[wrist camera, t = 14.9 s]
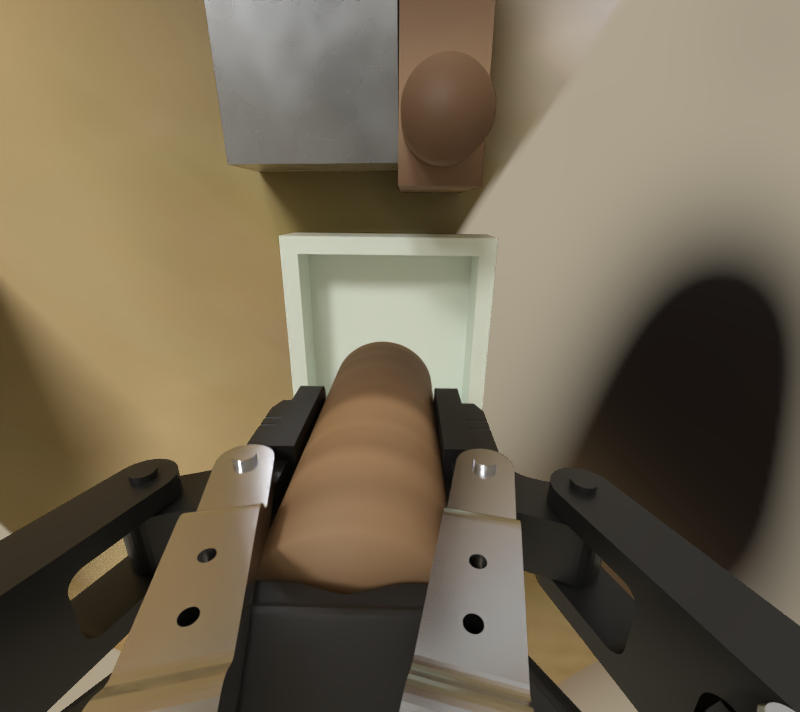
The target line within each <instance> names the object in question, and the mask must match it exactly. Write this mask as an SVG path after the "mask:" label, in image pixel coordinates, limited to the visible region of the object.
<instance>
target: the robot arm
mask: <svg viewBox="0 0 800 712" xmlns="http://www.w3.org/2000/svg"><path fill="white" fill-rule="evenodd" d="M325 400H326V391H325V387H324V386H300V387H299V389H298V391H297V392H296V394H295V396H294V397H293V399H292V400H283V401H281V402H280V403H278V404H277V405H275V406H274V407H272V408H271V410H270V411H269V413H268V414H267V416H266V418H265V419H264V420H263V421H262V423H261V426H259V427H258V429H257V430H256V432H255V433H254V435H253V436H252V437H251V439H250V440H249V442H248V443H247V445H243V446H239V447H236V448H233V449H231V450H229V451H227V452H225V453H223V454H222V455H221V456H220V457H219V458H218V459H217V460H216V462H215V464H214V466H213V469H212V470H210V471H205V472H200V473H194V474H188V475H183V476H180V474H179V470H178V465H177V464H176V463H175V462H174V461H171V460H167V459H153V460H147V461H143V462H140V463H137V464H134V465H132V466H129V467H127V468H125V469H123V470H122V471H120V472H118V473H116V474H115V475H113V476H111V477H110V478H108V479H106V480H104V481H103V482H101V483H99V484H97V485H96V486H94V487H92V488H90V489H89V490H87V491H85V492H84V493H82V494H80V495H78V496H77V497H75V498H73V499H71V500H70V501H68V502H66V503H64V504H63V505H61V506H59V507H58V508H56V509H54V510H52V511H51V512H49V513H47V514H45V515H44V516H42V517H40V518H39V519H37V520H35V521H33V522H32V523H30V524H28V525H26V526H25V527H23V528H21V529H19V530H18V531H16V532H14V533H13V534H11V535H9V536H7V537H6V538H4V539H2V540H0V712H47V711H48V710H49V709H50V708H51V707H52V706H53V705H54V704H55V703H56V702H57V701H58V700H59V699H60V698H61V697H62V696H63V695H64V694H66V693H67V692H68V690H70V689H71V688H72V687H73V686H74V685H75V684H76V683H77V682H78V681H79V680H80V679H81V678H82V677H83V676H84V675H85V674H86V673H88V671H89V670H91V669H92V668H93V667H94V666H95V665H96V664H97V663H98V662H99V661H100V660H101V659H102V658H103V657H104V656H105V655H106V654H107V653H108V652H109V651H111V650H112V649H113V648H114V647H115V646H116V645H117V644H118V643H119V642H120V641H121V640H122V639H123V638H124V637H125V636H126V635H127V634H128V633H129V635H128V637H127V639H126V642H125V644H124V646H123V649H122V651H121V653H120V656H119V658H118V660H117V663H116V665H115V667H114V670H113V672H112V673H111V674H110V675H108V676H107V677H106V678H104V679H103V680H102V681H100V682H99V683H98V684H96V685H95V686H94V687H92V688H91V689H90V690H88V691H87V692H86V693H85V694H83V695H82V696H81V697H79V698H78V699H77V700H75V701H74V702H73V703H71V704H70V705H69V706H67V707H66V708H65V709H63V710H62V711H61V712H581V711H580V710H579V709H578V708H577V707H576V705H575V704H574V703H573V702H572V701H571V700H570V699H569V698H568V697H567V696H566V695H565V694H564V693H563V692H562V691H561V690H560V688H559V687H558V686H557V685H556V684H555V683H554V682H553V681H552V680H551V679H550V678H549V677H548V676H547V675H546V674H545V673H544V672H543V670H542V669H541V668H540V667H539V666H538V665H537V664H536V663H535V662H534V661H533V660H532V659H531V658H530V657H529V656H528V646H527V627H526V608H525V590H524V571H527V572H530V573H533V574H535V575H536V579H537V581H538V583H539V584H540V586H541V587H542V588H543V590H544V591H545V592H546V593H547V595H548V596H549V597H550V599H551V600H552V601H553V602H554V604H555V605H556V606H557V608H558V609H559V610H560V611H561V613H562V614H563V615H564V617H565V618H566V619H567V620H568V622H569V623H570V624H571V626H572V627H573V628H574V629H575V631H576V632H577V633H578V635H579V636H580V637H581V638H582V640H583V641H584V642H585V644H586V645H587V646H588V647H589V649H590V650H591V651H592V653H593V654H594V655H595V656H596V658H597V659H598V660H599V662H600V663H601V664H602V665H603V667H604V668H605V669H606V671H607V672H608V673H609V675H610V676H611V677H612V678H613V680H614V681H615V682H616V683H617V685H618V686H619V687H620V689H621V690H622V691H623V692H624V694H625V695H626V696H627V698H628V699H629V700H630V701H631V703H632V704H633V705H634V707H635V708H636V709H637V711H638V712H800V626H799V625H797V624H796V623H795V622H794V621H792V620H791V619H790V618H788V617H787V616H786V615H784V614H783V613H782V612H780V611H779V610H778V609H776V608H775V607H774V606H772V605H771V604H770V603H769V602H767V601H766V600H764V599H763V598H762V597H761V596H759V595H758V594H757V593H755V592H754V591H753V590H751V589H750V588H749V587H747V586H746V585H745V584H743V583H742V582H741V581H739V580H738V579H737V578H735V577H734V576H733V575H732V574H730V573H729V572H728V571H726V570H725V569H723V568H722V567H721V566H720V565H718V564H717V563H716V562H714V561H713V560H712V559H710V558H709V557H708V556H706V555H705V554H704V553H702V552H701V551H700V550H698V549H697V548H696V547H694V546H693V545H692V544H691V543H689V542H688V541H687V540H685V539H684V538H683V537H681V536H680V535H679V534H677V533H676V532H675V531H673V530H672V529H671V528H669V527H668V526H667V525H665V524H664V523H663V522H661V521H660V520H659V519H657V518H656V517H655V516H654V515H652V514H651V513H650V512H648V511H647V510H646V509H644V508H643V507H642V506H640V505H639V504H638V503H636V502H635V501H633V500H632V499H631V498H630V497H628V496H627V495H626V494H624V493H623V492H622V491H620V490H619V489H618V488H616V487H615V486H614V485H613V484H611V483H610V482H609V481H607V480H606V479H604V478H603V477H601V476H599V475H597V474H595V473H593V472H590V471H587V470H584V469H578V468H563V469H559V470H557V471H555V472H554V473H553V474H552V475H551V479H550V482H545V481H541V480H537V479H532V478H529V477H525V476H522V475H520V474H518V473H516V472H514V466H513V464H512V462H511V461H510V460H509V459H508V458H507V457H506V456H504V455H503V454H501V453H499V452H498V449H497V447H496V444H495V441H494V439H493V436H492V433H491V431H490V428H489V425H488V423H487V420H486V417H485V415H484V412H483V411H482V410H481V409H480V408H479V407H477V406H476V405H475V404H470V403H461V400H460V396H459V392H458V389H457V388H435V389H434V409H435V416H436V424H437V431H438V439H439V446H440V453H441V461H442V468H443V475H444V480H445V487H446V494H447V502H448V506H447V507H444V511H443V515H442V520H441V525H440V530H439V535H438V540H437V544H436V549H435V554H434V559H433V564H432V569H431V574H430V579H429V584H395V585H390V586H385V587H381V588H376V589H371V590H366V591H362V592H357V593H352V594H346V595H344V594H338V593H334V592H330V591H327V590H323V589H320V588H316V587H313V586H309V585H305V584H302V583H298V582H295V581H267V580H256V576H257V570H258V567H259V564H260V562H261V557H262V553H263V550H264V546H265V543H266V539H267V536H268V533H269V530H270V528H271V525H272V523H273V521H274V518H275V516H276V514H277V511H278V509H279V507H280V505H281V502H282V500H283V498H284V495H285V493H286V491H287V488H288V486H289V484H290V481H291V479H292V477H293V474H294V472H295V470H296V467H297V465H298V463H299V461H300V458H301V456H302V454H303V451H304V449H305V447H306V444H307V442H308V440H309V437H310V435H311V433H312V430H313V428H314V426H315V423H316V421H317V419H318V416H319V414H320V412H321V410H322V407H323V405H324V403H325ZM122 538H123V539H124V543H125V546H126V549H127V553H128V556H127V557H126V558H125V559H123V560H122V561H121V562H120V563H118V564H117V565H116V566H114V567H113V568H112V569H111V570H109V571H108V572H107V573H105V574H104V575H103V576H102V577H100V578H99V579H98V580H96V581H95V582H94V583H93V584H91V585H90V586H89V587H87V588H86V589H85V590H84V591H82V592H81V593H80V594H78V595H77V596H76V597H75V598H73V599H72V600H71V601H70V599H69V597H68V587H69V584H70V582H71V580H72V579H73V577H74V576H75V574H76V573H77V572H78V571H79V570H80V569H81V568H82V567H84V566H85V565H86V564H88V563H89V562H90V561H92V560H93V559H94V558H96V557H97V556H99V555H100V554H101V553H103V552H104V551H105V550H107V549H108V548H109V547H111V546H112V545H114V544H115V543H116V542H118V541H119V540H120V539H122ZM602 560H603V561H604V562H605V563H606V564H607V565H608V566H609V567H610V568H611V569H612V570H613V571H614V572H615V573H617V575H618V576H620V578H621V579H622V580H623V581H624V582H625V583H626V584H627V585H628V587H629V588H630V590H631V592H632V594H633V596H634V599H635V600H634V599H633V598H632V597H631V596H630V595H629V594H628V593H627V592H626V591H625V590H624V589H623V588H622V587H621V586H620V585H619V584H618V583H617V582H616V581H615V580H614V579H613V578H612V577H611V576H610V575H609V574H608V573H607V572H606V571H605V570H604V569H603V568H602V567H601V563H602Z"/></svg>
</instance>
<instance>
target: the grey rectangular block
mask: <svg viewBox="0 0 800 712" xmlns="http://www.w3.org/2000/svg"><path fill="white" fill-rule="evenodd" d="M204 2H205V9H206V16H207V23H208V30H209V37H210V44H211V51H212V58H213V65H214V72H215V79H216V86H217V93H218V100H219V107H220V114H221V120H222V127H223V134H224V141H225V148H226V155H227V162H228V165H232V166H237V167H241V168H245V169H249V170H253V171H257V172H311V171H398V117H399V0H204Z"/></svg>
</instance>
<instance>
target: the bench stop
mask: <svg viewBox="0 0 800 712" xmlns="http://www.w3.org/2000/svg"><path fill="white" fill-rule="evenodd" d="M495 4H496V0H399V117H398V187H399V189H400V192H452V193H461V192H464V191H468V190H471V189H474V188H478V187H481V186H482V175H483V162H484V149H485V138H486V137H487V135H488V133H489V132H490V130H491V127H492V124H493V121H494V117H495V111H496V95H495V90H494V86H493V83H492V80H491V78H490V70H491V57H492V43H493V30H494V17H495Z"/></svg>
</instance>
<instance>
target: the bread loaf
mask: <svg viewBox="0 0 800 712" xmlns="http://www.w3.org/2000/svg"><path fill="white" fill-rule="evenodd" d="M447 506H448V502H447V494H446V487H445V480H444V475H443V468H442V461H441V453H440V446H439V439H438V431H437V424H436V416H435V409H434V399H433V391H432V384H431V378H430V374H429V371H428V369H427V367H426V365H425V364H424V362H423V361H422V359H421V358H420V357H419V356H418V355H417V354H416V353H414V352H413V351H412V350H410V349H409V348H407V347H405V346H403V345H400V344H397V343H392V342H373V343H369V344H366V345H363V346H361V347H359V348H357V349H356V350H354V351H353V352H351V353H350V354H349V355H348V356H347V357H346V358H345V359H344V361H343V362H342V364H341V366H340V368H339V370H338V372H337V375H336V377H335V379H334V382H333V384H332V386H331V389H330V391H329V393H328V396H327V398H326V400H325V403H324V405H323V407H322V410H321V412H320V414H319V416H318V419H317V421H316V423H315V426H314V428H313V430H312V433H311V435H310V437H309V440H308V442H307V444H306V447H305V449H304V451H303V454H302V456H301V458H300V461H299V463H298V465H297V467H296V470H295V472H294V474H293V477H292V479H291V481H290V484H289V486H288V488H287V491H286V493H285V495H284V498H283V500H282V502H281V505H280V507H279V509H278V511H277V514H276V516H275V518H274V521H273V523H272V525H271V528H270V530H269V533H268V536H267V539H266V543H265V546H264V550H263V553H262V557H261V562H260V564H259V567H258V570H257V576H256V580H267V581H295V582H298V583H302V584H305V585H309V586H313V587H316V588H320V589H323V590H327V591H330V592H334V593H338V594H344V595H346V594H352V593H357V592H362V591H366V590H371V589H376V588H381V587H385V586H390V585H395V584H429V579H430V574H431V569H432V564H433V559H434V554H435V549H436V544H437V540H438V535H439V530H440V525H441V520H442V515H443V511H444V507H447Z"/></svg>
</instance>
